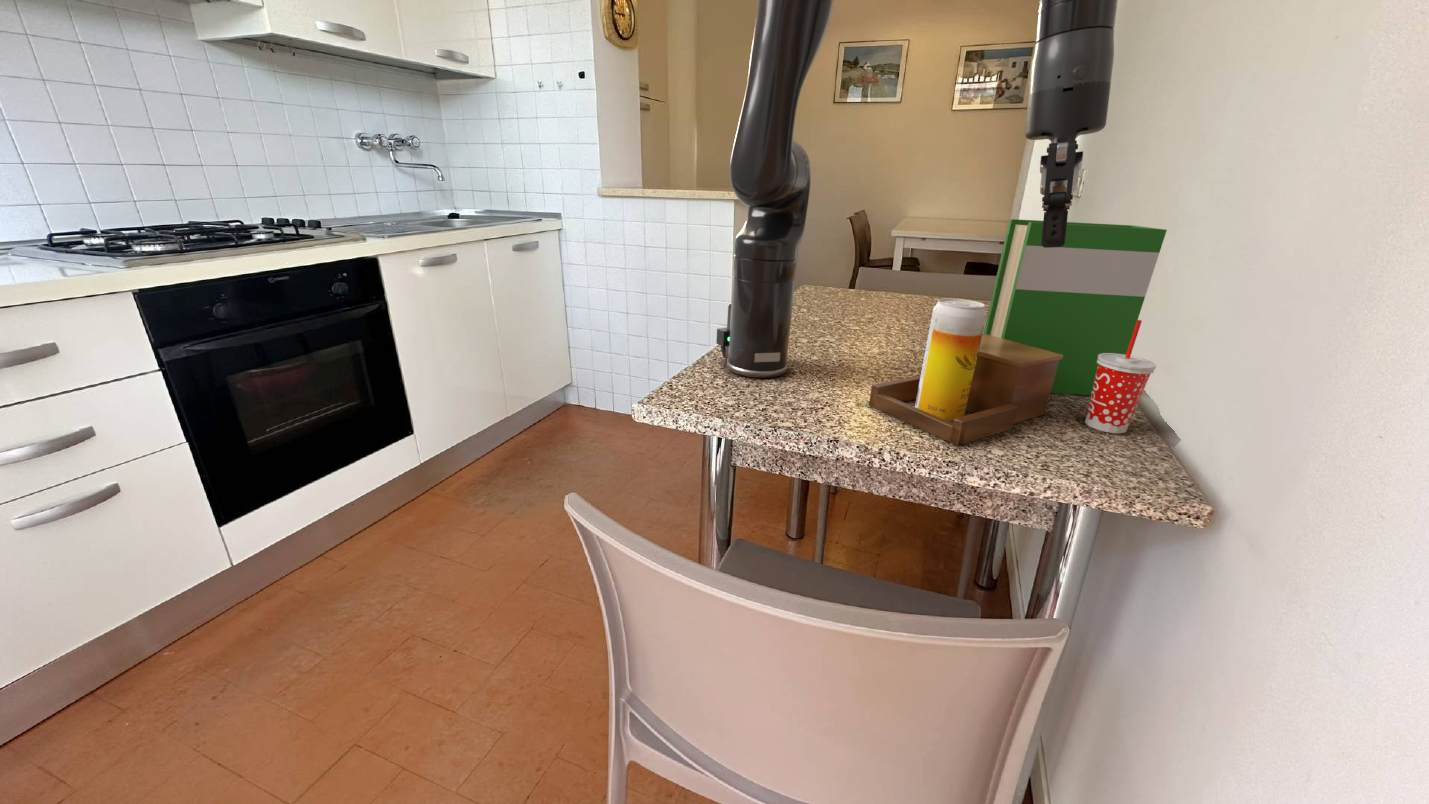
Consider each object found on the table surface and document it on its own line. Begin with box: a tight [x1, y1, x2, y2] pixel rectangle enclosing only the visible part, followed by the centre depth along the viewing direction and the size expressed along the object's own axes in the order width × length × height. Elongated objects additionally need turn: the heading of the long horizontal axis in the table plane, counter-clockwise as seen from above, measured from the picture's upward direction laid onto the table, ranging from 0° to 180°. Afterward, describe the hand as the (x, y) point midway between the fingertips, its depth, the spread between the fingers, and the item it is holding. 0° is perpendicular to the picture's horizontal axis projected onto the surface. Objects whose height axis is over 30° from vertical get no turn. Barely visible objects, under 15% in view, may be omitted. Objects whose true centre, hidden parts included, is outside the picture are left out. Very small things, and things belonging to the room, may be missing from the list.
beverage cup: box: [1084, 319, 1157, 434], centre depth 72 cm, size 6×6×14 cm
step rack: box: [868, 332, 1063, 447], centre depth 75 cm, size 14×20×8 cm
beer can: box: [914, 297, 988, 423], centre depth 72 cm, size 6×6×15 cm
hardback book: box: [983, 218, 1168, 396], centre depth 85 cm, size 18×7×24 cm, turn 86°
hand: (1053, 244), depth 66 cm, fingers open, 8 cm apart
